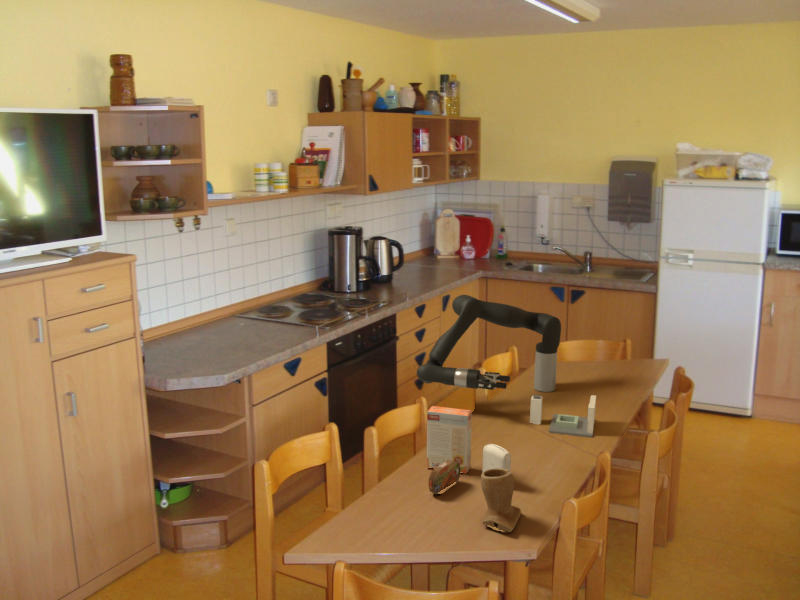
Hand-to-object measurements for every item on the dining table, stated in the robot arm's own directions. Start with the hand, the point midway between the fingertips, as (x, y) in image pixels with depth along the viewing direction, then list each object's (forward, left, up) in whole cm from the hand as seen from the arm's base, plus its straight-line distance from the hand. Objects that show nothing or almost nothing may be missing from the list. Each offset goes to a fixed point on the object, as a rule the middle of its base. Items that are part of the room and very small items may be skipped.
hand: (508, 382), depth 303 cm
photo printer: (+55, +5, -15) cm, 57 cm away
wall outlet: (0, +25, -15) cm, 29 cm away
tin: (+65, -10, -15) cm, 67 cm away
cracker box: (+50, -12, -15) cm, 54 cm away
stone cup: (+80, +10, -15) cm, 82 cm away
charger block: (0, +11, -15) cm, 19 cm away
